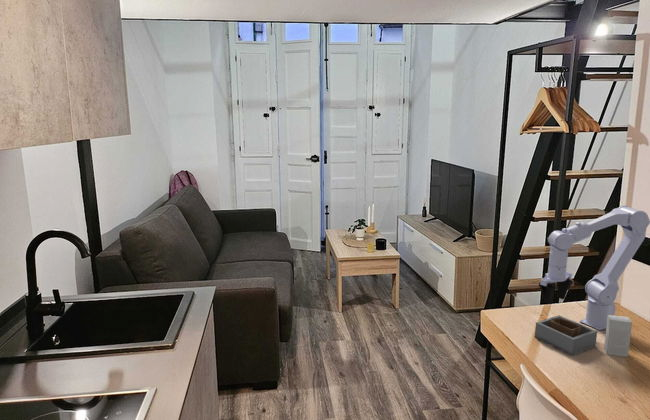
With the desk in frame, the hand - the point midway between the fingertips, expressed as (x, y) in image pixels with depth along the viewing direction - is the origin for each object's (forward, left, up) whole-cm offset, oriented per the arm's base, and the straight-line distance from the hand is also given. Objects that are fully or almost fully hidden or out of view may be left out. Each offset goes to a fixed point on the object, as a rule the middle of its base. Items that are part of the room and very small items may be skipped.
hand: (554, 300), depth 169 cm
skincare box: (0, +23, -10) cm, 25 cm away
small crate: (+8, +10, -8) cm, 15 cm away
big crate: (+8, +10, -9) cm, 16 cm away
